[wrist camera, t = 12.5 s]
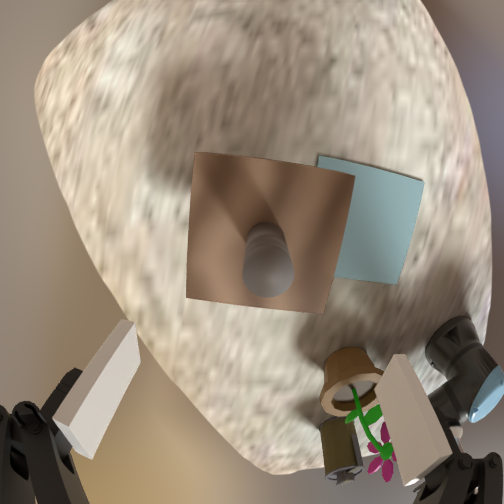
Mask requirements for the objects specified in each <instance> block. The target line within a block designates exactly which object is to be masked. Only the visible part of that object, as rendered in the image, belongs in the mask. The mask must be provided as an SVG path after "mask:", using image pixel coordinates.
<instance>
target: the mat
mask: <svg viewBox="0 0 504 504" xmlns="http://www.w3.org/2000/svg"><path fill="white" fill-rule="evenodd" d="M317 167H319V168H325V169H330V170H335V171H340V172H344V173H348V174H351V175H355V182H354V188H353V193H352V198H351V203H350V208H349V213H348V218H347V223H346V227H345V232H344V236H343V241H342V245H341V249H340V254H339V258H338V262H337V266H336V270H335V273H334V277H339V278H347V279H355V280H363V281H371V282H379V283H387V284H395V285H397V282H398V279H399V276H400V273H401V270H402V267H403V264H404V261H405V258H406V255H407V251H408V248H409V245H410V241H411V238H412V234H413V230H414V227H415V223H416V219H417V215H418V211H419V206H420V202H421V197H422V193H423V188H424V183H425V182H422V181H419V180H416V179H412V178H409V177H406V176H402V175H399V174H395V173H392V172H388V171H385V170H381V169H377V168H373V167H369V166H365V165H361V164H357V163H353V162H349V161H344V160H340V159H335V158H330V157H325V156H320V155H319V158H318V164H317Z"/></svg>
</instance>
